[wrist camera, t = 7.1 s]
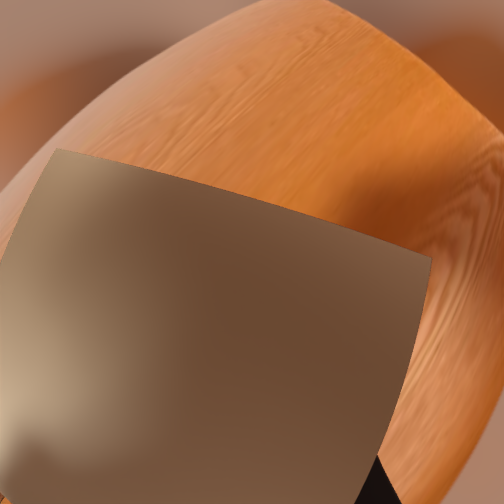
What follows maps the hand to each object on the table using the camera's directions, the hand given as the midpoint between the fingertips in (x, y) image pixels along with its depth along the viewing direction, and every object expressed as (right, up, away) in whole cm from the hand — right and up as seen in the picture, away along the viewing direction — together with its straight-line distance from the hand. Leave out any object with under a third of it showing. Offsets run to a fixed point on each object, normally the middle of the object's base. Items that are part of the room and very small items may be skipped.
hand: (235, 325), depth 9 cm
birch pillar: (0, -3, +5) cm, 6 cm away
